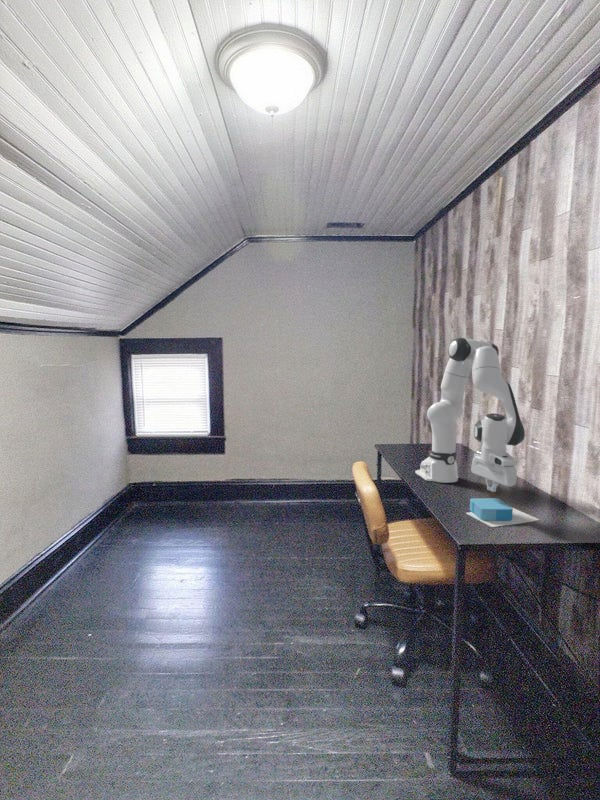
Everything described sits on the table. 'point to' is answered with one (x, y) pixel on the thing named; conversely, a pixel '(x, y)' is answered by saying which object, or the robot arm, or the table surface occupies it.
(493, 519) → the data package
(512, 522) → the mat
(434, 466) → the robot arm
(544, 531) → the table surface
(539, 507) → the table surface
